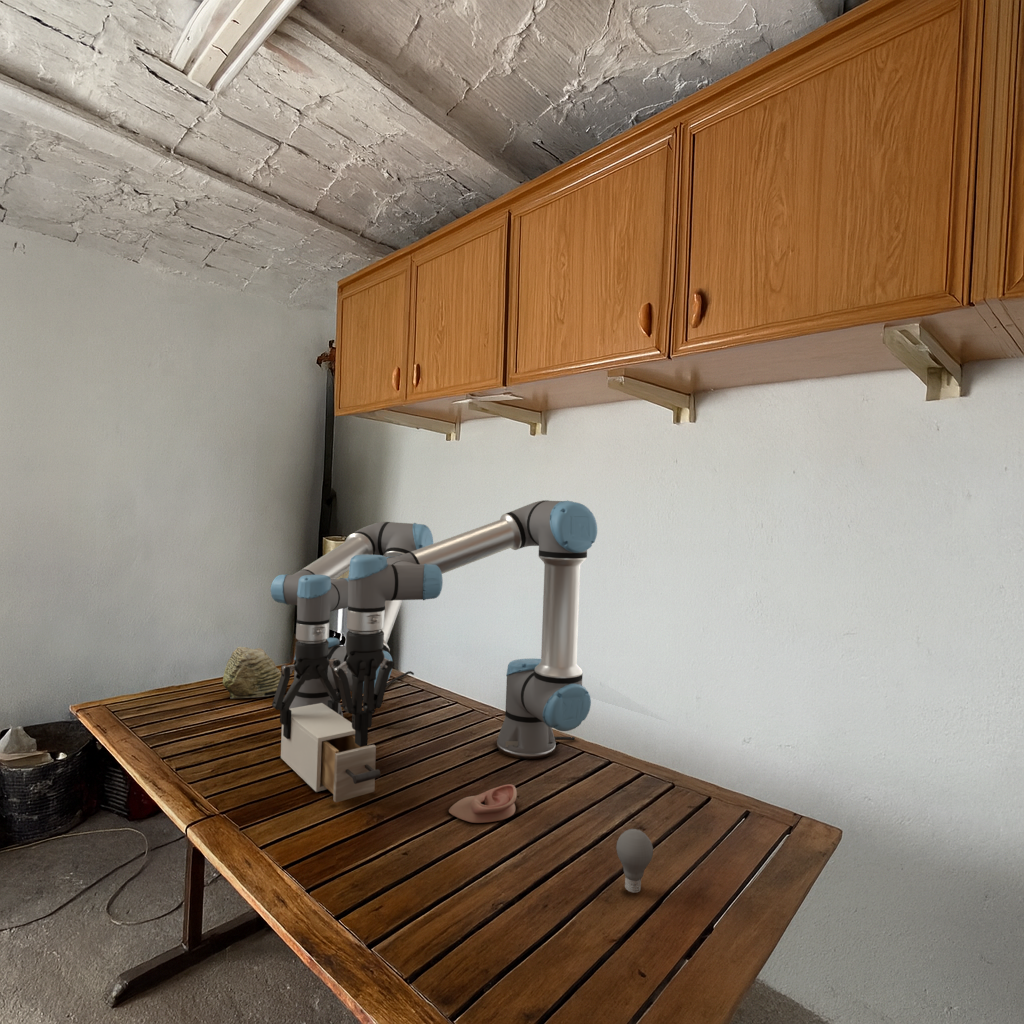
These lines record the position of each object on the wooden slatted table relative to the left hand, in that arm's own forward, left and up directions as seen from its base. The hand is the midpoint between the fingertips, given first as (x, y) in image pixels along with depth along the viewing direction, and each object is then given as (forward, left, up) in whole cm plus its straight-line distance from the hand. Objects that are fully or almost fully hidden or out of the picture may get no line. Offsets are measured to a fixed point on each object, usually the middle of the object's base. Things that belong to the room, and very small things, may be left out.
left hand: (309, 732), depth 152 cm
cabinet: (+1, +6, -7) cm, 9 cm away
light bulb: (-7, +83, -7) cm, 83 cm away
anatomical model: (-10, +47, -7) cm, 48 cm away
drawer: (+4, +18, -6) cm, 19 cm away
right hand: (+6, +27, +6) cm, 28 cm away
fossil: (-16, -54, -7) cm, 56 cm away
